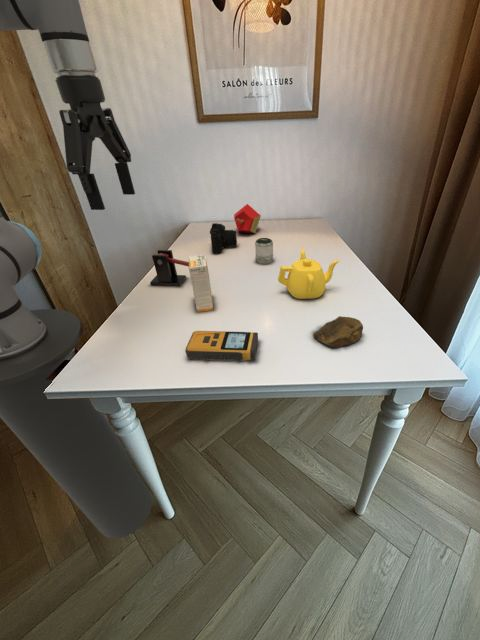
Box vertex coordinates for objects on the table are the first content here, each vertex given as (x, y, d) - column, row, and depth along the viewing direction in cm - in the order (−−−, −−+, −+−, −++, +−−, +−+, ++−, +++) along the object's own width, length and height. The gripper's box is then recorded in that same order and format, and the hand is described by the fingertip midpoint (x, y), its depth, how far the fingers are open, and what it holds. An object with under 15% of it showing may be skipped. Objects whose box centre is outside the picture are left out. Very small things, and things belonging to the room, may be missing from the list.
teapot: (337, 290, 94) (341, 258, 87) (310, 307, 86) (312, 274, 80) (300, 277, 101) (302, 247, 95) (273, 292, 94) (273, 260, 88)
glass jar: (270, 265, 109) (270, 243, 104) (253, 264, 111) (252, 242, 106) (275, 258, 114) (274, 237, 109) (258, 257, 115) (257, 236, 111)
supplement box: (214, 310, 87) (207, 265, 78) (196, 312, 86) (188, 268, 78) (212, 296, 93) (205, 253, 85) (195, 298, 92) (187, 255, 84)
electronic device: (195, 339, 76) (193, 328, 74) (258, 340, 75) (257, 329, 73) (186, 361, 70) (183, 349, 68) (254, 363, 68) (254, 351, 66)
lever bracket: (186, 278, 103) (180, 249, 97) (180, 286, 99) (173, 257, 92) (158, 277, 105) (150, 248, 98) (150, 285, 100) (142, 256, 94)
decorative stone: (336, 354, 70) (338, 342, 68) (307, 335, 76) (308, 323, 74) (366, 336, 75) (368, 324, 72) (336, 320, 81) (338, 308, 78)
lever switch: (204, 267, 99) (205, 260, 98) (199, 274, 95) (200, 267, 94) (162, 258, 99) (162, 250, 98) (155, 264, 95) (155, 257, 94)
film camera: (235, 253, 119) (233, 229, 113) (210, 254, 119) (207, 230, 113) (237, 240, 131) (235, 217, 125) (214, 241, 131) (212, 218, 125)
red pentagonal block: (265, 231, 142) (256, 235, 129) (240, 232, 145) (228, 235, 132) (264, 202, 137) (254, 203, 124) (238, 204, 140) (226, 204, 127)
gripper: (96, 80, 67) (126, 189, 80) (5, 71, 47) (64, 217, 61) (128, 78, 66) (153, 189, 79) (49, 69, 46) (99, 217, 60)
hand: (115, 201), depth 70 cm, fingers open, 13 cm apart
